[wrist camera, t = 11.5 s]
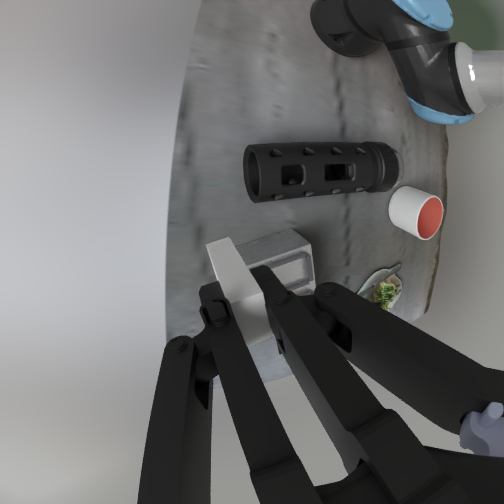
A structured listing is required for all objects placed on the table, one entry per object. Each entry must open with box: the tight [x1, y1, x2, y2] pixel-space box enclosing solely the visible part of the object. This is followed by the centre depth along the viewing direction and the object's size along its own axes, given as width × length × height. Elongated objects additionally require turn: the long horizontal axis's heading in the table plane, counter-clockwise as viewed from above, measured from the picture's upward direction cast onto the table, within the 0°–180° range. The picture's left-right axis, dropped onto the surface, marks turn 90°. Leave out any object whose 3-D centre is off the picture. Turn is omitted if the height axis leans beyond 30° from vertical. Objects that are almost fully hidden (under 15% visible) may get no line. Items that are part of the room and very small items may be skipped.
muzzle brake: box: [243, 142, 404, 203], centre depth 45 cm, size 10×28×10 cm, turn 93°
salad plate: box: [356, 264, 402, 311], centre depth 67 cm, size 19×18×5 cm
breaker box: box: [235, 228, 316, 334], centre depth 52 cm, size 14×16×9 cm
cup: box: [388, 186, 443, 240], centre depth 55 cm, size 10×10×10 cm
